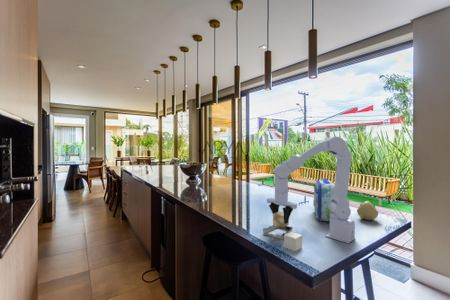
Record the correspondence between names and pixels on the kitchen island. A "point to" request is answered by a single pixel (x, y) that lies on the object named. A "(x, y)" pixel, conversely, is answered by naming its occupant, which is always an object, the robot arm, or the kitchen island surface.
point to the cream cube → (293, 241)
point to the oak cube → (279, 219)
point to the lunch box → (323, 198)
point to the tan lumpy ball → (367, 211)
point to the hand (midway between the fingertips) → (280, 221)
